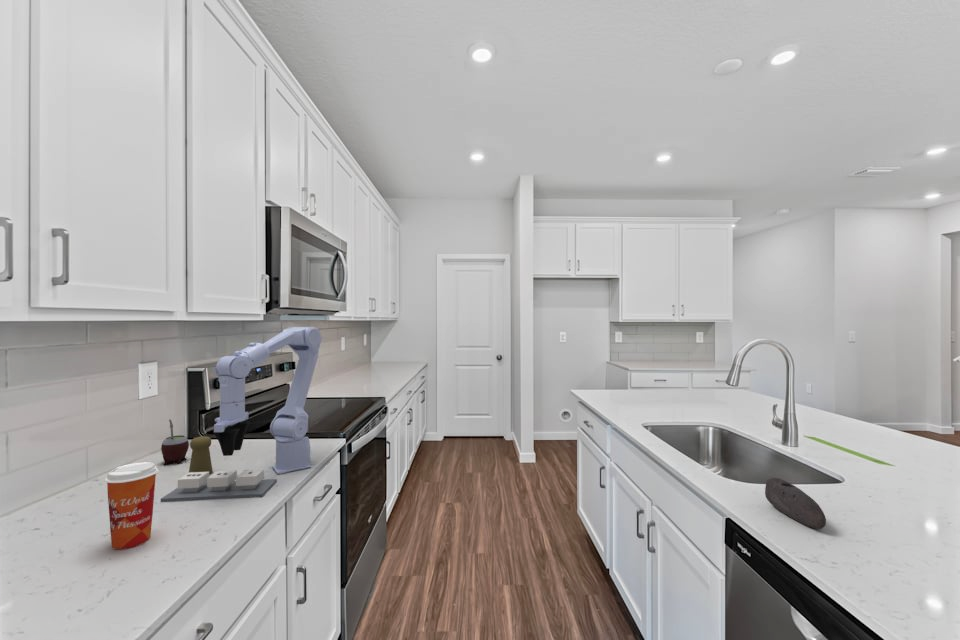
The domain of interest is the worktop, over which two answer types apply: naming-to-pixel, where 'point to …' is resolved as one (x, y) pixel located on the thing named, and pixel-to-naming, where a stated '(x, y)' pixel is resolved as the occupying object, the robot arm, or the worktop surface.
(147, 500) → the coffee cup
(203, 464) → the cork
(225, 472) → the key two
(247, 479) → the key one
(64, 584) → the worktop surface
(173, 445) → the mate gourd
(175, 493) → the keypad base
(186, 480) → the key three
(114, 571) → the worktop surface
